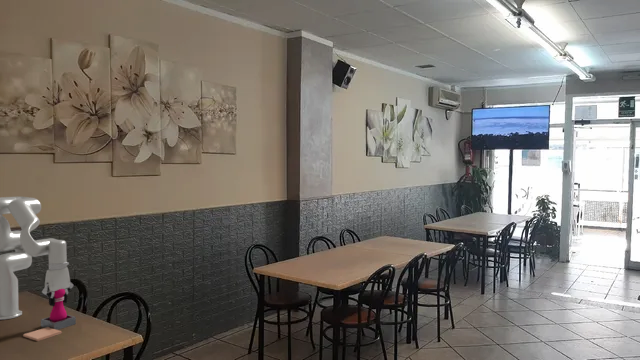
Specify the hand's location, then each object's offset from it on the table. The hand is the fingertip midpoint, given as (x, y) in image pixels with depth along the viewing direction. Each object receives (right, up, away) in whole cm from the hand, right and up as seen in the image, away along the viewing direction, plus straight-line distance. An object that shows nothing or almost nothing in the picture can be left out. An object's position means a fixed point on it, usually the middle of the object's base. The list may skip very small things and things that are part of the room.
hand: (58, 303), depth 229 cm
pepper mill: (0, -11, 0) cm, 11 cm away
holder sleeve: (0, -10, 0) cm, 10 cm away
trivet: (0, -11, -12) cm, 17 cm away
